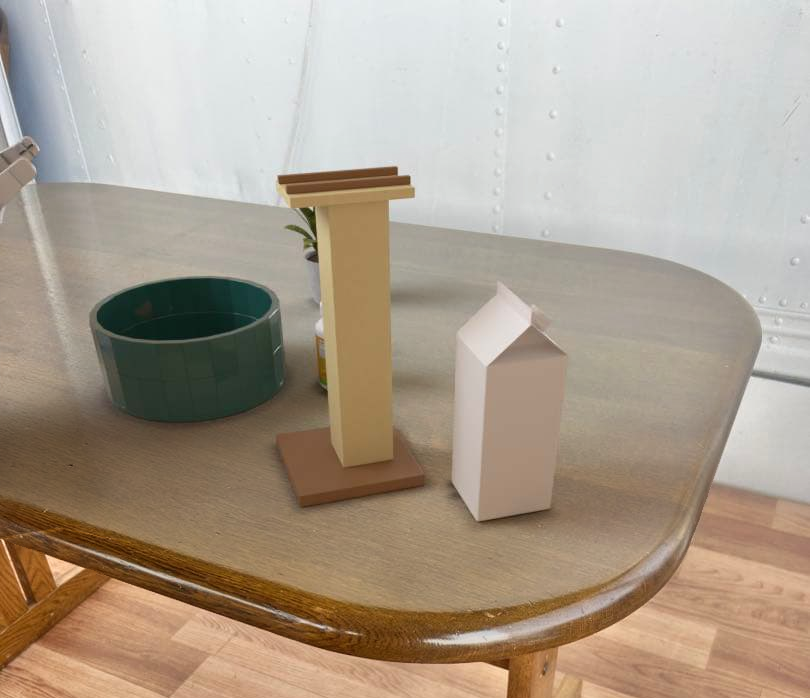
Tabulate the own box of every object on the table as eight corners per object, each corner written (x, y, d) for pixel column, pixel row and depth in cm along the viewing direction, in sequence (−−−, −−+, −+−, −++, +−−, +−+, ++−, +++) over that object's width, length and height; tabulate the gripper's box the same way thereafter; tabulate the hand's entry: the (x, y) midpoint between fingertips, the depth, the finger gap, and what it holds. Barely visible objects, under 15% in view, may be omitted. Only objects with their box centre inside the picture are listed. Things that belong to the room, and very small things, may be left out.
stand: (300, 507, 74) (269, 201, 58) (276, 445, 83) (244, 166, 67) (424, 485, 77) (427, 187, 61) (388, 427, 86) (382, 156, 70)
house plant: (358, 326, 109) (353, 198, 99) (265, 314, 112) (251, 190, 103) (393, 291, 120) (392, 172, 110) (308, 281, 123) (299, 166, 114)
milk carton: (476, 523, 72) (489, 316, 60) (450, 482, 77) (457, 285, 66) (550, 510, 73) (575, 306, 62) (520, 471, 79) (537, 276, 68)
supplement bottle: (336, 369, 98) (331, 290, 92) (374, 379, 96) (371, 298, 90) (310, 386, 94) (303, 305, 88) (348, 397, 92) (344, 314, 86)
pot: (109, 434, 85) (89, 354, 80) (105, 358, 101) (88, 286, 96) (302, 406, 90) (295, 328, 85) (269, 337, 106) (261, 268, 101)
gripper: (-128, 244, 68) (-1, 145, 67) (-92, 186, 84) (12, 105, 83) (-65, 303, 72) (56, 210, 71) (-41, 237, 88) (59, 160, 87)
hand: (32, 153), depth 77 cm, fingers open, 8 cm apart
